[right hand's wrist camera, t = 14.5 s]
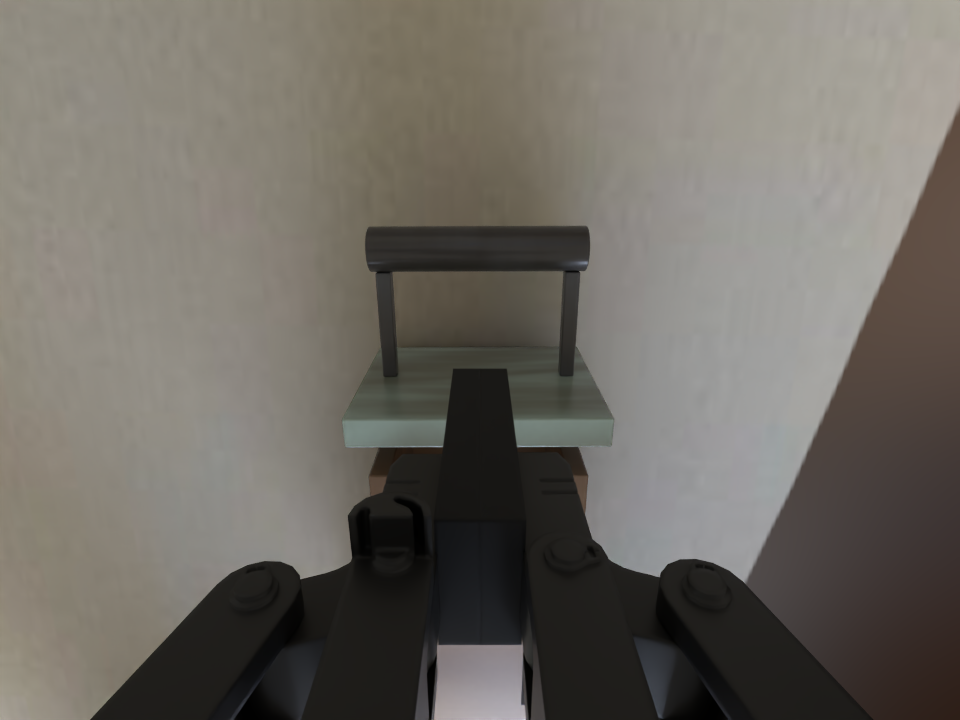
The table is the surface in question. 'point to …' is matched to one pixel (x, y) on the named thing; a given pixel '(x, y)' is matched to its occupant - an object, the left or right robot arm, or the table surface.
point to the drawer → (477, 351)
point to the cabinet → (479, 682)
